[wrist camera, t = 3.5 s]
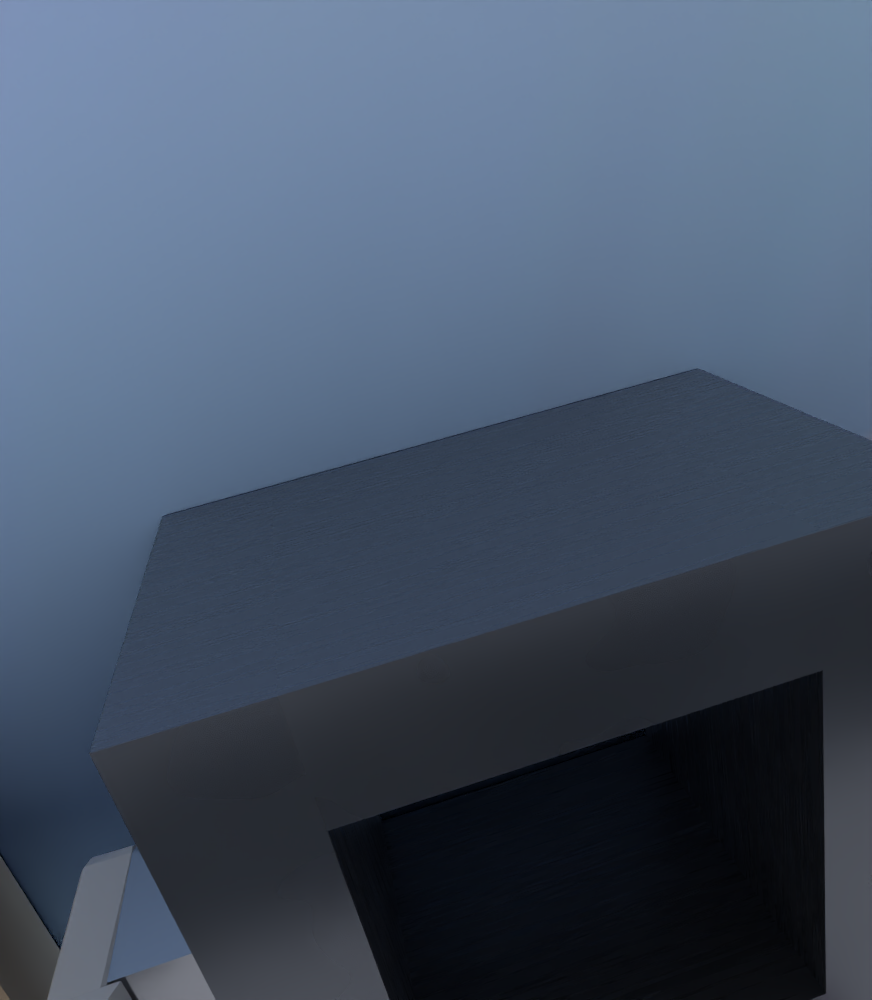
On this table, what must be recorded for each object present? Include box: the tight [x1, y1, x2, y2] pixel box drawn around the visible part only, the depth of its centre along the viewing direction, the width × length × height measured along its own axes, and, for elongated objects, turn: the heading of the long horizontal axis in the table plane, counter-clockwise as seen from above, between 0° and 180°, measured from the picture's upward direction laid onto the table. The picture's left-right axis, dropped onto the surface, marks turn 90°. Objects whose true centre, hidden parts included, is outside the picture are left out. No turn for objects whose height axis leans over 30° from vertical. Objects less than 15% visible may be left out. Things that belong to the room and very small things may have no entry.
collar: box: [89, 369, 872, 1000], centre depth 9 cm, size 6×6×4 cm
